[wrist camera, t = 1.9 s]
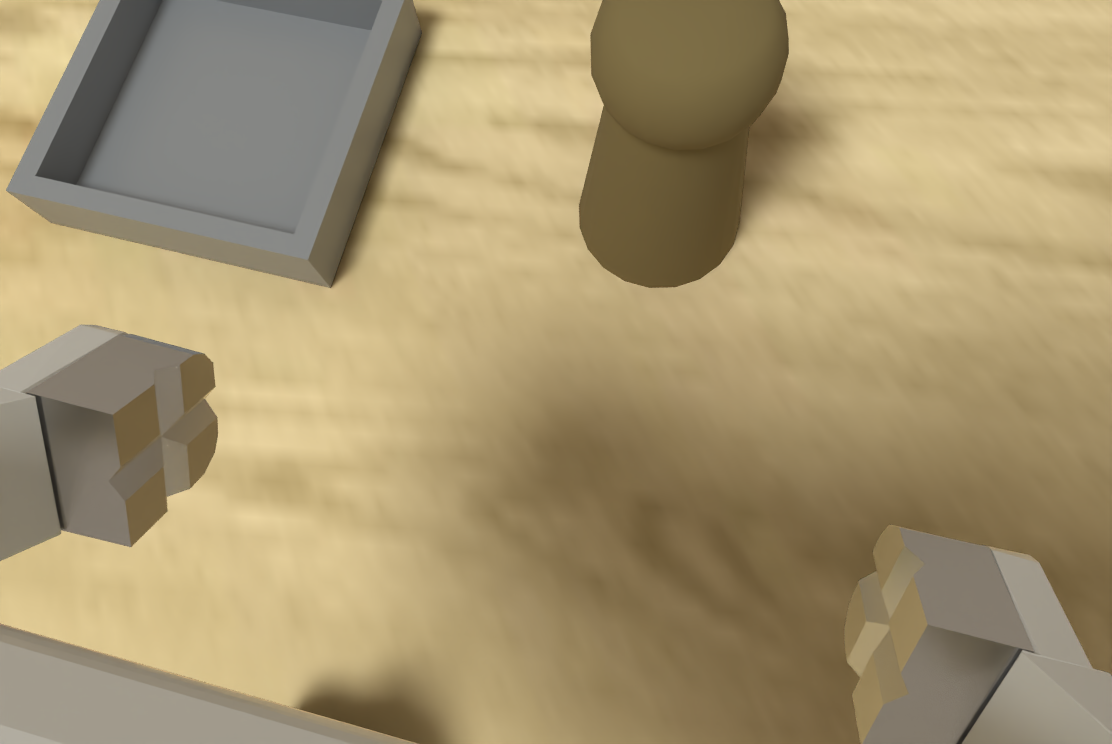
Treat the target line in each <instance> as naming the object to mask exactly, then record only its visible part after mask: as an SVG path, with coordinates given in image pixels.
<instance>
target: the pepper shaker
mask: <svg viewBox="0 0 1112 744" xmlns="http://www.w3.org/2000/svg"><path fill="white" fill-rule="evenodd" d="M788 54H789V43H788V30H787V21H786V13H785V11H784V9H783V7H782V5H781V3H780V1H779V0H603V1H602V4H601V6H600V9H599V12H598V15H597V18H596V20H595V23H594V26H593V29H592V32H591V74H592V77H593V80H594V82H595V84H596V87H597V89H598V92H599V94H600V97H601V99H602V101H603V104H604V107H603V111H602V115H601V119H600V123H599V127H598V131H597V135H596V139H595V143H594V147H593V151H592V155H591V159H590V163H589V167H588V171H587V175H586V180H585V184H584V188H583V192H582V196H581V200H580V204H579V217H580V229H581V232H582V235H583V237H584V240H585V242H586V245H587V248H588V250H589V251H590V252H591V253H592V254H593V256H594V257H595V258H596V259H597V260H598V262H599V263H600V264H601V265H602V266H603V268H605V269H607V270H608V271H610V272H611V273H613V274H615V275H616V276H618V277H619V278H621V279H622V280H624V281H627V282H631V283H634V284H638V285H642V286H645V287H649V288H655V287H677V286H680V285H683V284H686V283H689V282H692V281H695V280H698V279H700V278H702V277H703V276H704V275H706V274H707V273H708V272H710V271H711V270H713V269H714V268H715V267H717V266H718V265H719V264H720V263H721V262H722V260H723V259H724V257H725V256H726V254H727V253H728V252H729V250H730V249H731V247H732V246H733V244H734V240H735V236H736V233H737V229H738V225H739V220H740V211H741V201H742V192H743V182H744V173H745V163H746V154H747V144H748V135H749V126H751V125H752V124H753V123H754V121H755V120H756V119H757V118H758V117H759V116H760V115H761V113H762V112H763V110H764V109H765V108H766V106H767V105H768V104H769V102H770V101H771V100H772V98H773V97H774V95H775V94H776V92H777V90H778V87H779V84H780V82H781V79H782V76H783V72H784V68H785V65H786V61H787V58H788Z"/></svg>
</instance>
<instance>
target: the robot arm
mask: <svg viewBox="0 0 1112 744" xmlns="http://www.w3.org/2000/svg"><path fill="white" fill-rule="evenodd" d="M215 387H216V386H215V377H214V367H213V362H212V361H211V360H210V359H209V358H208V357H207V356H206V355H205V354H203V353H200V352H196V351H192V350H189V349H185V348H181V347H177V346H174V345H170V344H166V343H163V342H159V341H155V340H151V339H148V338H144V337H140V336H137V335H133V334H127V333H125V332H122V331H118V330H114V329H109V328H105V327H101V326H97V325H79V326H77V327H76V328H74V329H72V330H70V331H69V332H67V333H65V334H63V335H62V336H60V337H58V338H56V339H55V340H53V341H51V342H49V343H48V344H46V345H44V346H42V347H40V348H39V349H37V350H35V351H33V352H32V353H30V354H28V355H26V356H25V357H23V358H21V359H19V360H18V361H16V362H14V363H12V364H11V365H9V366H7V367H5V368H4V369H2V370H0V561H1V560H4V559H6V558H8V557H10V556H13V555H15V554H17V553H19V552H22V551H24V550H26V549H28V548H31V547H33V546H35V545H37V544H40V543H42V542H44V541H46V540H49V539H51V538H53V537H55V536H58V535H60V534H61V530H63V531H67V532H71V533H75V534H79V535H83V536H87V537H91V538H96V539H100V540H104V541H108V542H112V543H116V544H120V545H124V546H129V547H132V546H133V545H134V544H135V543H136V542H137V541H138V540H139V539H140V538H141V537H142V536H143V535H144V534H145V533H146V532H147V531H148V530H149V529H150V528H151V527H152V526H153V525H154V524H155V523H156V522H157V521H158V520H159V519H160V518H161V517H162V516H163V515H164V514H165V513H166V512H167V496H170V495H173V494H176V493H179V492H182V491H184V490H187V489H190V488H191V487H192V486H193V485H194V484H195V483H196V482H197V481H198V480H199V479H200V478H201V477H202V476H203V475H204V473H205V471H206V469H207V467H208V465H209V463H210V461H211V459H212V457H213V455H214V453H215V449H216V443H217V438H218V420H217V416H216V415H215V413H214V412H213V410H212V409H211V407H210V406H209V404H208V403H207V401H206V400H205V398H206V397H207V396H208V395H209V393H210V392H211V391H212V390H213V389H214V388H215ZM873 556H874V560H875V565H876V570H877V571H875V572H873V573H872V574H870V575H868V576H866V577H864V578H862V579H860V580H859V581H858V583H857V586H856V588H855V590H854V593H853V595H852V597H851V600H850V602H849V606H848V611H847V616H846V621H845V626H844V646H845V653H846V660H847V663H848V664H849V665H850V666H851V667H852V669H853V670H854V671H855V672H856V673H857V675H858V676H859V677H860V679H859V681H858V683H857V685H856V687H855V689H854V691H853V693H852V698H853V704H854V710H855V716H856V722H857V727H858V733H859V739H860V744H1112V675H1111V674H1110V673H1108V672H1104V671H1100V670H1096V669H1093V668H1092V666H1091V664H1090V662H1089V660H1088V658H1087V656H1086V654H1085V652H1084V650H1083V648H1082V646H1081V644H1080V642H1079V640H1078V638H1077V636H1076V634H1075V632H1074V630H1073V628H1072V626H1071V624H1070V622H1069V620H1068V618H1067V616H1066V614H1065V612H1064V610H1063V608H1062V606H1061V604H1060V603H1059V601H1058V599H1057V597H1056V595H1055V593H1054V591H1053V589H1052V587H1051V585H1050V583H1049V581H1048V579H1047V577H1046V575H1045V573H1044V571H1043V569H1042V567H1041V565H1040V563H1039V562H1038V561H1037V560H1035V559H1034V558H1033V557H1032V556H1030V555H1028V554H1023V553H1019V552H1014V551H1009V550H1005V549H1000V548H995V547H991V546H986V545H978V544H973V543H969V542H965V541H960V540H956V539H952V538H947V537H943V536H939V535H934V534H930V533H925V532H921V531H917V530H912V529H908V528H904V527H899V526H895V525H891V524H889V525H888V527H887V528H886V529H885V530H884V531H883V532H882V533H881V535H880V537H879V539H878V541H877V543H876V545H875V547H874V549H873ZM0 744H418V743H415V742H411V741H408V740H404V739H401V738H397V737H394V736H390V735H387V734H383V733H380V732H376V731H373V730H369V729H366V728H362V727H359V726H355V725H352V724H349V723H345V722H342V721H338V720H335V719H331V718H328V717H324V716H321V715H317V714H314V713H310V712H307V711H303V710H300V709H296V708H293V707H289V706H286V705H282V704H279V703H275V702H272V701H268V700H265V699H261V698H258V697H254V696H251V695H247V694H244V693H240V692H237V691H234V690H230V689H227V688H223V687H220V686H216V685H213V684H209V683H206V682H202V681H199V680H195V679H192V678H188V677H185V676H181V675H178V674H174V673H171V672H167V671H164V670H160V669H157V668H153V667H150V666H146V665H143V664H140V663H136V662H133V661H129V660H126V659H122V658H119V657H115V656H112V655H108V654H105V653H101V652H98V651H94V650H91V649H87V648H84V647H80V646H77V645H73V644H70V643H66V642H63V641H59V640H56V639H53V638H49V637H46V636H42V635H39V634H35V633H32V632H28V631H25V630H21V629H18V628H14V627H11V626H7V625H4V624H0Z"/></svg>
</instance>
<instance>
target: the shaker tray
mask: <svg viewBox="0 0 1112 744" xmlns="http://www.w3.org/2000/svg"><path fill="white" fill-rule="evenodd" d="M421 34H422V31H421V28H420V24H419V21H418V17H417V14H416V11H415V7H414V4H413V0H100V1H99V3H98V5H97V7H96V9H95V11H94V13H93V15H92V17H91V19H90V21H89V23H88V25H87V27H86V29H85V31H84V33H83V35H82V37H81V39H80V42H79V44H78V46H77V48H76V50H75V52H74V54H73V56H72V58H71V60H70V62H69V64H68V66H67V68H66V70H65V72H64V74H63V76H62V78H61V80H60V82H59V84H58V86H57V88H56V90H55V92H54V94H53V96H52V98H51V100H50V102H49V104H48V106H47V108H46V110H45V112H44V114H43V116H42V118H41V121H40V123H39V125H38V127H37V129H36V131H35V133H34V135H33V137H32V139H31V141H30V143H29V145H28V147H27V149H26V151H25V153H24V155H23V157H22V159H21V161H20V163H19V165H18V167H17V169H16V171H15V173H14V175H13V177H12V179H11V181H10V183H9V185H8V187H7V189H6V191H7V192H8V193H10V194H11V195H13V196H14V197H16V198H17V199H18V200H20V201H21V202H23V203H24V204H25V205H27V206H28V207H30V208H31V209H32V210H34V211H35V212H37V213H38V214H39V215H41V216H42V217H44V218H45V219H46V220H48V221H49V222H51V223H54V224H59V225H63V226H67V227H72V228H76V229H80V230H84V231H89V232H93V233H97V234H102V235H106V236H110V237H115V238H119V239H123V240H127V241H132V242H136V243H140V244H145V245H149V246H153V247H158V248H162V249H166V250H170V251H175V252H179V253H183V254H188V255H192V256H196V257H200V258H205V259H209V260H213V261H218V262H222V263H226V264H231V265H235V266H239V267H243V268H248V269H252V270H256V271H261V272H265V273H269V274H274V275H278V276H282V277H286V278H291V279H295V280H299V281H304V282H308V283H312V284H316V285H321V286H325V287H329V288H331V285H332V282H333V279H334V277H335V274H336V271H337V268H338V265H339V263H340V260H341V257H342V254H343V251H344V249H345V246H346V243H347V240H348V238H349V235H350V232H351V229H352V226H353V224H354V221H355V218H356V215H357V212H358V210H359V207H360V204H361V201H362V198H363V196H364V193H365V190H366V187H367V185H368V182H369V179H370V176H371V173H372V171H373V168H374V165H375V162H376V159H377V157H378V154H379V151H380V148H381V145H382V143H383V140H384V137H385V134H386V132H387V129H388V126H389V123H390V120H391V118H392V115H393V112H394V109H395V106H396V104H397V101H398V98H399V95H400V92H401V90H402V87H403V84H404V81H405V79H406V76H407V73H408V70H409V67H410V65H411V62H412V59H413V56H414V53H415V51H416V48H417V45H418V42H419V39H420V37H421Z"/></svg>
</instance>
